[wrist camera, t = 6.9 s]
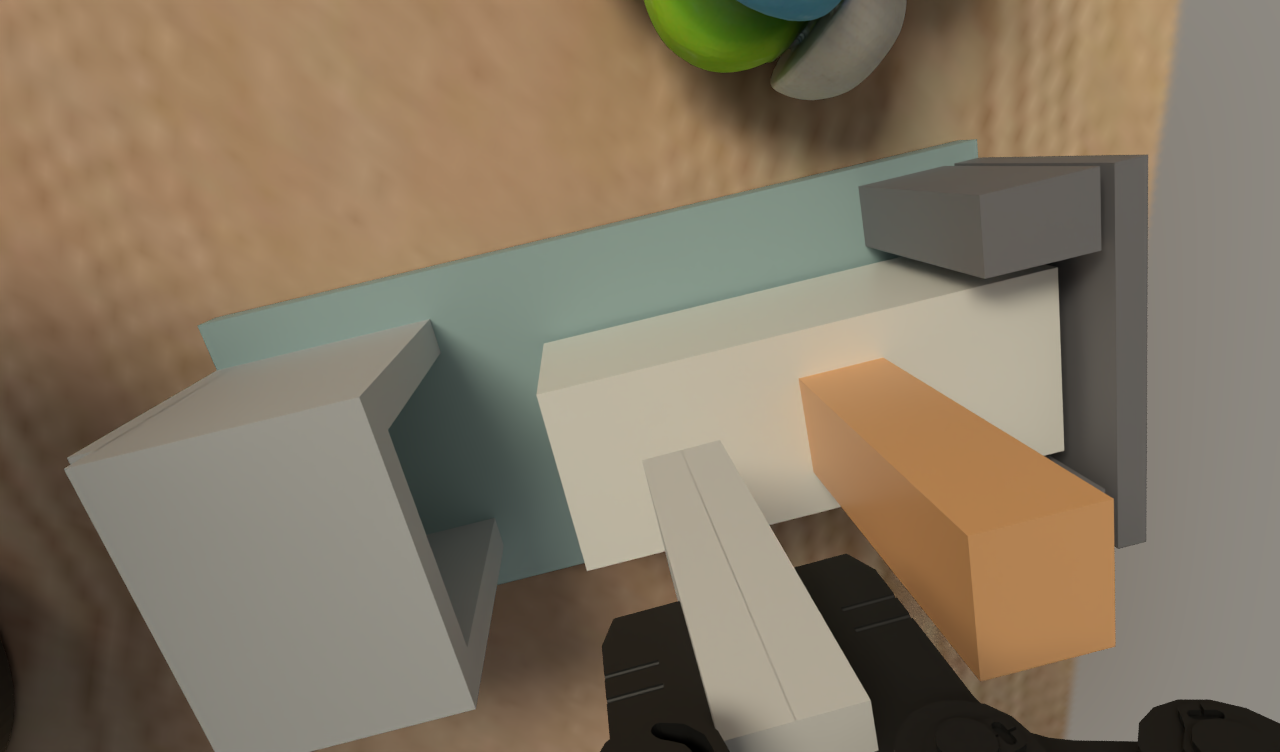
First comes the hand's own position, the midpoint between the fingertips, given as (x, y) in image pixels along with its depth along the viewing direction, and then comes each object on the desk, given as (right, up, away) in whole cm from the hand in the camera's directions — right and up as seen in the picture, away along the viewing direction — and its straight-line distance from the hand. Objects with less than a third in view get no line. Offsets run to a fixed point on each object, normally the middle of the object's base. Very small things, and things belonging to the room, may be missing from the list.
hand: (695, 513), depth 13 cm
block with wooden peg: (+3, +3, +7) cm, 8 cm away
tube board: (-1, +2, +8) cm, 9 cm away
